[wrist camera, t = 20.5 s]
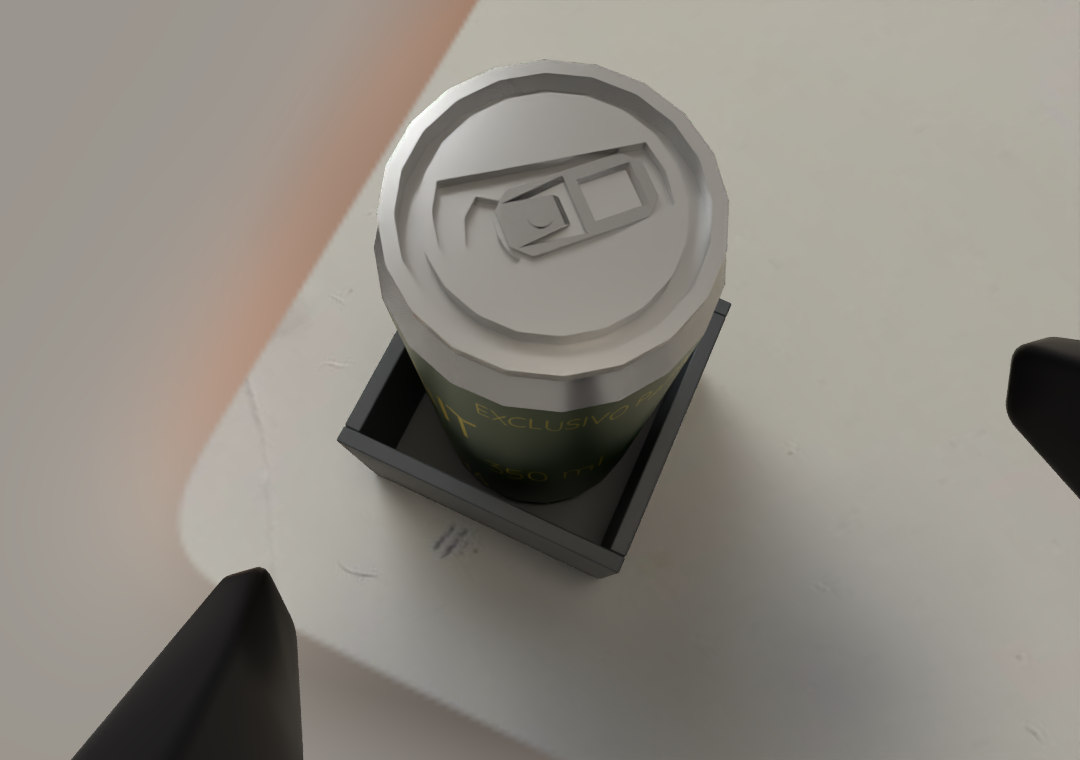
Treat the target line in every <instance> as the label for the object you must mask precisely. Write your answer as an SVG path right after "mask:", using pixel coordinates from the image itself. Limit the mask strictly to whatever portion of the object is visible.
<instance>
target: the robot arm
mask: <svg viewBox="0 0 1080 760" xmlns="http://www.w3.org/2000/svg"><path fill="white" fill-rule="evenodd" d="M1006 410H1007V414H1008V416H1009V419H1010V420H1011V422H1012V424H1013V425H1014V426H1015V427H1016V429H1017V430H1018V431H1019V432H1020V433H1021V434H1022V435H1023V436H1024V437H1025V439H1026V440H1027V441H1028V442H1029V443H1030V444H1031V445H1032V446H1033V447H1034V449H1035V450H1036V451H1037V452H1038V453H1039V454H1040V455H1041V456H1042V458H1043V459H1044V460H1045V461H1046V462H1047V463H1048V464H1049V465H1050V466H1051V468H1052V469H1053V470H1054V471H1055V472H1056V473H1057V474H1058V475H1059V476H1060V478H1061V479H1062V480H1063V481H1064V482H1065V483H1066V484H1067V485H1068V487H1069V488H1070V489H1071V490H1072V491H1073V492H1074V493H1075V494H1076V495H1077V497H1078V498H1079V499H1080V340H1074V339H1067V338H1060V337H1048V338H1044V339H1040V340H1037V341H1034V342H1030V343H1027V344H1023V345H1021V346H1020V347H1018V348H1017V349H1016V350H1015V352H1014V354H1013V355H1012V359H1011V367H1010V375H1009V382H1008V390H1007V398H1006ZM301 726H302V725H301V706H300V687H299V669H298V650H297V636H296V631H295V627H294V623H293V620H292V618H291V616H290V614H289V612H288V610H287V608H286V606H285V604H284V602H283V600H282V597H281V595H280V593H279V591H278V589H277V587H276V585H275V583H274V581H273V579H272V577H271V576H270V574H269V573H268V572H267V570H266V569H264V568H261V567H256V568H253V569H249V570H246V571H242V572H239V573H235V574H232V575H229V576H227V577H225V578H224V579H223V580H222V581H221V582H220V583H219V584H218V585H217V586H216V588H215V589H214V590H213V591H212V592H211V594H210V595H209V596H208V597H207V598H206V599H205V601H204V602H203V603H202V605H201V606H200V607H199V608H198V609H197V610H196V611H195V613H194V614H193V615H192V616H191V618H190V619H189V620H188V621H187V622H186V623H185V625H184V626H183V627H182V628H181V629H180V630H179V632H178V633H177V634H176V635H175V636H174V638H173V639H172V640H171V642H169V644H168V645H167V646H166V647H165V648H164V650H163V651H162V652H161V653H160V654H159V656H158V657H157V658H156V659H155V660H154V662H153V663H152V664H151V665H150V666H149V667H148V669H147V670H146V671H145V672H144V673H143V675H142V676H141V677H140V678H139V679H138V681H137V682H136V683H135V684H134V685H133V687H132V688H131V689H130V690H129V691H128V692H127V694H126V695H125V696H124V697H123V698H122V700H121V701H120V702H119V703H118V704H117V706H116V707H115V708H114V709H113V710H112V712H111V713H110V714H109V715H108V716H107V717H106V719H105V720H104V721H103V722H102V724H101V725H100V726H99V727H98V728H97V729H96V731H95V732H94V733H93V734H92V736H91V737H90V738H89V739H88V740H87V741H86V743H85V744H84V745H83V746H82V747H81V749H80V750H79V751H78V752H77V753H76V754H75V756H74V757H73V758H72V759H71V760H303V743H302V727H301Z"/></svg>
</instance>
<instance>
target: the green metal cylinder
mask: <svg viewBox="0 0 1080 760" xmlns="http://www.w3.org/2000/svg"><path fill="white" fill-rule="evenodd" d="M728 212H729V200H728V196H727V193H726V190H725V187H724V184H723V180H722V177H721V174H720V171H719V168H718V165H717V161H716V158H715V155H714V153H713V152H712V150H711V149H710V148H709V146H708V145H707V143H706V142H705V141H704V139H703V138H702V136H701V135H700V134H699V132H698V131H697V130H696V128H695V127H694V125H693V124H692V123H691V121H690V120H689V119H688V117H687V116H686V114H685V113H683V112H682V111H681V110H679V109H678V108H677V107H675V106H674V105H673V104H671V103H670V102H669V101H667V100H666V99H665V98H663V97H662V96H661V95H659V94H658V93H657V92H656V91H654V90H653V89H652V88H650V87H649V86H648V85H646V84H645V83H643V82H640V81H638V80H635V79H632V78H630V77H627V76H625V75H622V74H619V73H617V72H614V71H612V70H609V69H606V68H604V67H601V66H599V65H595V64H585V63H575V62H565V61H555V60H545V59H544V60H538V61H532V62H526V63H520V64H514V65H508V66H502V67H496V68H492V69H490V70H488V71H486V72H484V73H482V74H480V75H478V76H475V77H473V78H471V79H469V80H467V81H465V82H463V83H460V84H458V85H456V86H454V87H452V88H450V89H448V90H447V91H445V92H444V93H443V94H442V95H441V96H440V97H439V98H438V99H437V100H435V101H434V102H433V103H432V104H431V105H430V106H429V107H428V108H426V109H425V110H424V111H423V112H422V113H421V114H420V115H419V116H418V117H416V118H415V119H414V120H413V121H412V122H411V123H410V124H409V126H408V128H407V130H406V131H405V133H404V135H403V137H402V138H401V140H400V142H399V144H398V145H397V147H396V149H395V150H394V152H393V154H392V156H391V157H390V159H389V161H388V163H387V164H386V167H385V172H384V178H383V183H382V188H381V194H380V199H379V205H378V210H377V219H378V229H377V234H376V240H375V245H374V251H375V257H376V263H377V269H378V275H379V281H380V287H381V293H382V299H383V301H384V303H385V305H386V307H387V309H388V311H389V313H390V316H391V318H392V320H393V322H394V324H395V326H396V328H397V330H398V332H399V335H400V337H401V339H402V341H403V343H404V345H405V347H406V349H407V352H408V354H409V356H410V358H411V360H412V362H413V364H414V366H415V368H416V371H417V373H418V375H419V377H420V379H421V381H422V383H423V385H424V387H425V390H426V392H427V394H428V396H429V398H430V400H431V402H432V404H433V407H434V409H435V411H436V413H437V415H438V417H439V419H440V421H441V423H442V426H443V428H444V430H445V432H446V434H447V436H448V438H449V440H450V442H451V444H452V446H453V448H454V449H455V451H456V453H457V455H458V457H459V459H460V460H461V462H462V464H463V466H464V467H465V468H466V469H467V470H468V471H469V472H470V473H471V474H472V475H474V476H475V477H476V478H477V479H478V480H479V481H480V482H481V483H482V484H483V485H484V486H486V487H487V488H489V489H491V490H493V491H496V492H498V493H500V494H502V495H505V496H507V497H509V498H511V499H513V500H519V501H528V502H538V503H549V502H554V501H559V500H563V499H568V498H573V497H576V496H578V495H580V494H581V493H583V492H585V491H586V490H588V489H590V488H592V487H593V486H595V485H597V484H599V483H600V482H602V481H603V480H604V478H605V477H606V476H607V475H608V474H609V473H610V472H611V471H612V469H613V468H614V467H615V466H616V465H617V464H618V463H619V461H620V460H621V459H622V458H623V456H624V455H625V453H626V452H627V450H628V449H629V447H630V446H631V444H632V443H633V441H634V440H635V438H636V437H637V435H638V434H639V432H640V430H641V429H642V427H643V426H644V424H645V423H646V421H647V420H648V418H649V417H650V415H651V414H652V412H653V411H654V409H655V408H656V406H657V405H658V403H659V402H660V400H661V399H662V397H663V396H664V394H665V393H666V391H667V390H668V388H669V387H670V385H671V384H672V382H673V381H674V379H675V378H676V376H677V375H678V373H679V372H680V370H681V368H682V367H683V365H684V364H685V362H686V361H687V359H688V358H689V356H690V355H691V353H692V352H693V350H694V349H695V347H696V346H697V344H698V343H699V341H700V340H701V338H702V337H703V335H704V334H705V332H706V330H707V327H708V325H709V322H710V320H711V317H712V315H713V312H714V310H715V308H716V305H717V303H718V300H719V298H720V295H721V293H722V290H723V288H724V285H725V271H726V252H727V238H728Z"/></svg>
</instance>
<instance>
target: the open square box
mask: <svg viewBox="0 0 1080 760" xmlns="http://www.w3.org/2000/svg"><path fill="white" fill-rule="evenodd" d="M730 306H731V303H729V302H727V301H724V300H722V299H720V298H719V300H718V303H717V305H716V308H715V310H714V312H713V315H712V317H711V320H710V322H709V325H708V327H707V330H706V332H705V334H704V335H703V337H702V338H701V340H700V341H699V343H698V344H697V346H696V347H695V349H694V350H693V352H692V353H691V355H690V356H689V358H688V359H687V361H686V362H685V364H684V365H683V367H682V368H681V370H680V372H679V373H678V375H677V376H676V378H675V379H674V381H673V382H672V384H671V385H670V387H669V388H668V390H667V391H666V393H665V394H664V396H663V397H662V399H661V400H660V402H659V403H658V405H657V406H656V408H655V409H654V411H653V412H652V414H651V415H650V417H649V418H648V420H647V421H646V423H645V424H644V426H643V427H642V429H641V430H640V432H639V434H638V435H637V437H636V438H635V440H634V441H633V443H632V444H631V446H630V447H629V449H628V450H627V452H626V453H625V455H624V456H623V458H622V459H621V460H620V461H619V463H618V464H617V465H616V466H615V467H614V468H613V469H612V471H611V472H610V473H609V474H608V475H607V476H606V477H605V478H604V480H603V481H602V482H600V483H599V484H597V485H595V486H593V487H592V488H590V489H588V490H586V491H585V492H583V493H581V494H580V495H578V496H576V497H573V498H568V499H563V500H559V501H554V502H549V503H538V502H528V501H519V500H513V499H511V498H509V497H507V496H505V495H502V494H500V493H498V492H496V491H493V490H491V489H489V488H487V487H486V486H484V485H483V484H482V483H481V482H480V481H479V480H478V479H477V478H476V477H475V476H474V475H472V474H471V473H470V472H469V471H468V470H467V469H466V468H465V467H464V466H463V464H462V462H461V460H460V459H459V457H458V455H457V453H456V451H455V449H454V448H453V446H452V444H451V442H450V440H449V438H448V436H447V434H446V432H445V430H444V428H443V426H442V423H441V421H440V419H439V417H438V415H437V413H436V411H435V409H434V407H433V404H432V402H431V400H430V398H429V396H428V394H427V392H426V390H425V387H424V385H423V383H422V381H421V379H420V377H419V375H418V373H417V371H416V368H415V366H414V364H413V362H412V360H411V358H410V356H409V354H408V352H407V349H406V347H405V345H404V343H403V341H402V339H401V337H400V335H399V332H398V330H397V331H396V333H395V335H394V337H393V339H392V341H391V342H390V344H389V346H388V348H387V350H386V351H385V353H384V355H383V357H382V359H381V361H380V362H379V364H378V366H377V368H376V370H375V371H374V373H373V375H372V377H371V379H370V381H369V382H368V384H367V386H366V388H365V390H364V391H363V393H362V395H361V397H360V399H359V401H358V402H357V404H356V406H355V408H354V410H353V411H352V413H351V415H350V417H349V419H348V421H347V422H346V427H344V428H343V430H342V431H341V433H340V435H339V437H338V439H337V441H338V442H339V443H340V444H342V445H343V446H344V447H345V448H346V449H347V450H349V451H350V452H351V453H352V454H353V455H354V456H356V457H357V458H358V459H359V460H360V461H361V462H363V463H364V464H365V465H366V466H367V467H368V468H370V469H371V470H372V471H374V472H375V473H376V474H378V475H380V476H382V477H385V478H387V479H389V480H391V481H393V482H395V483H397V484H399V485H401V486H404V487H406V488H408V489H410V490H412V491H414V492H416V493H418V494H420V495H423V496H425V497H427V498H429V499H431V500H433V501H435V502H437V503H439V504H441V505H444V506H446V507H448V508H450V509H452V510H454V511H456V512H458V513H460V514H463V515H465V516H467V517H469V518H471V519H473V520H475V521H477V522H479V523H482V524H484V525H486V526H488V527H490V528H492V529H494V530H496V531H498V532H501V533H503V534H505V535H507V536H509V537H511V538H513V539H515V540H517V541H520V542H522V543H524V544H526V545H528V546H530V547H532V548H534V549H536V550H539V551H541V552H543V553H545V554H547V555H549V556H551V557H553V558H555V559H558V560H560V561H562V562H564V563H566V564H568V565H570V566H572V567H574V568H577V569H579V570H581V571H583V572H585V573H587V574H589V575H591V576H593V577H596V578H604V577H607V576H610V575H613V574H617V573H619V571H620V569H621V567H622V564H623V562H624V560H625V558H624V557H625V556H626V555H627V552H628V550H629V548H630V545H631V543H632V540H633V538H634V536H635V533H636V531H637V528H638V526H639V524H640V521H641V519H642V517H643V514H644V512H645V509H646V507H647V505H648V502H649V500H650V497H651V495H652V493H653V490H654V488H655V485H656V483H657V481H658V478H659V476H660V474H661V471H662V469H663V466H664V464H665V462H666V459H667V457H668V454H669V452H670V450H671V447H672V445H673V442H674V440H675V438H676V435H677V433H678V431H679V428H680V426H681V423H682V421H683V419H684V416H685V414H686V411H687V409H688V407H689V404H690V402H691V400H692V397H693V395H694V392H695V390H696V388H697V385H698V383H699V380H700V378H701V376H702V373H703V371H704V368H705V366H706V364H707V361H708V359H709V357H710V354H711V352H712V349H713V347H714V345H715V342H716V340H717V337H718V335H719V333H720V330H721V328H722V325H723V323H724V321H725V317H726V316H727V314H728V311H729V309H730Z"/></svg>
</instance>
